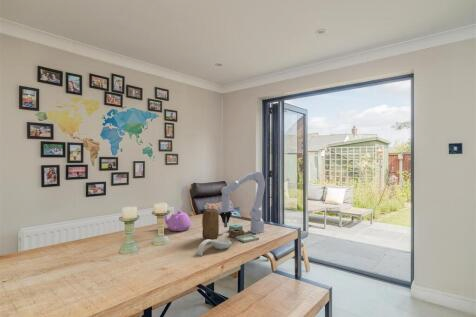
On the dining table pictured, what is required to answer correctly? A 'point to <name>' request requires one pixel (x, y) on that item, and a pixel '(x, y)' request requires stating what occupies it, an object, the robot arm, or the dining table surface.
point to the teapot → (178, 221)
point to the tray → (247, 238)
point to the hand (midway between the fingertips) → (225, 222)
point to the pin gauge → (225, 221)
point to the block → (210, 224)
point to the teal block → (235, 226)
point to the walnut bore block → (236, 232)
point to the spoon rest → (216, 243)
